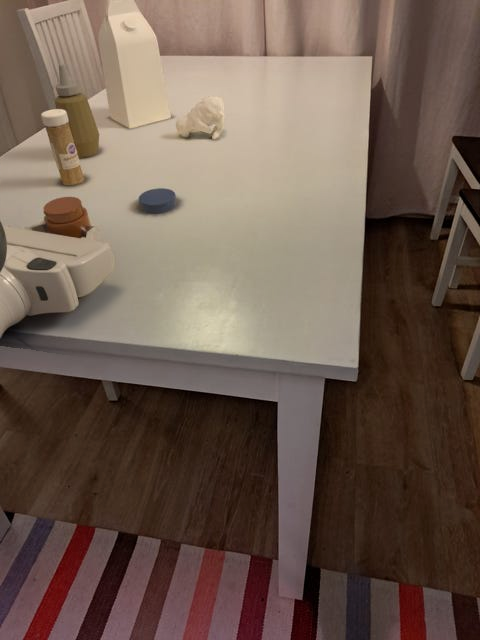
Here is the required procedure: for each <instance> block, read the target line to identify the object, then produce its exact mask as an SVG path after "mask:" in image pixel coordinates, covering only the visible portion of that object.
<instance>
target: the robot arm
mask: <svg viewBox="0 0 480 640" xmlns="http://www.w3.org/2000/svg"><path fill="white" fill-rule="evenodd" d="M1 221H2V220H0V339H1V338H2V336H3V335H4V333H5V331H6V330H7V329H8V328H10V327H12V326H14V325H16V324H17V323H20V322H21V321H22V320H23V319H24V318H26V317H27V316H35V315H36V316H37V315H42V314H50V313H70V312H72V311H74V310H75V309H76V308H77V307H78V306H79V304H80V303H79V299H78V298H81V297H85V296H87V295H88V294H91V293H92V292H94V291H95V290H96V289H97V288H98V287H99V286H100V285H101V284H103V282H104V281H105V280H106V279H107V278H108V277H109V276H110V275H111V274H112V272H113V271H114V270H115V266H116V264H115V257H114V254H113V250H112V247H111V245H110V243H108V242H104V241H98V240H99V239H100V238H101V230H100V228H99V227H98V226H93V225H91V226H87V228H85V229H84V230H83V233H84V235H85V237H82V238H74V237H68V236H62V235H56V234H50V233H48V230H47V227H46V224H45V221H44V219H43V220H42V221H40V222H39V223H35V224H31V225H28V226H25V227H24V228H19V227H14V226H9V225H8V226H7V225H3V223H2V222H1Z"/></svg>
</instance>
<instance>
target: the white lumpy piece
mask: <svg viewBox="0 0 480 640" xmlns="http://www.w3.org/2000/svg"><path fill="white" fill-rule="evenodd" d="M225 106H226V105H225V103H224V101H223V99H222V98H221V97H220V96H217V95H210V96H206V97H204V98H202V99H201V100H200V101H198V102H197V103H196V104H195V106H194V107H193V108H191V110H190V111H189V112H188V113H186V114H185V115H182V116H180V117H178V118H177V119H176V122H175V129H176V131H177V132H178V133H179V134H180V135H181V136H182V137H183V138H187V139H188V138H189V136H190V132H192V131H197V132H203V133H206V134H211V138H212V140H216V139H217V138H218V137H220V136H221V134H222V132H223V129H224V126H225V121H226V120H225V119H226V118H225V111H226V107H225ZM213 125H215V126H214V127H211V126H213Z"/></svg>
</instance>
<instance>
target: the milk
mask: <svg viewBox="0 0 480 640" xmlns="http://www.w3.org/2000/svg"><path fill="white" fill-rule="evenodd" d="M105 3H106V4H105V13H104V14H105V15H104V17H103V21H102V23H101V26H100V29H99V32H98V36H97V40H98V41H97V43H98V48H99V55H100V61H101V66H102V72H103V73H102V74H103V80H104V85H105V92H106V97H107V105H108V110H109V116H110V119H112V120H114V121H115V122H117V123H119V124H121V125H123V126H124V127H126V128H128V129H134V128H137V127H141V126H145V125H149V124H152V123H156V122H160V121H164V120H167V119H172V115H171V109H170V103H169V97H168V91H167V86H166V80H165V75H164V69H163V64H162V59H161V58H162V57H161V52H160V47H159V41H158V38H157V35H156V33H155V31H154V30H153V28H152V26H151V25H150V23H149V22H148V21H147V19H146V18H145V15H143V13H142V12H141V10H140V8H139V7H138V5H137V3H136V0H106V2H105Z"/></svg>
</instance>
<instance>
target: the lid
mask: <svg viewBox="0 0 480 640" xmlns="http://www.w3.org/2000/svg"><path fill="white" fill-rule="evenodd" d="M138 203H139V207H140V210H141V211H143V212H144V213H146V214H153V215H155V214H156V215H157V214H158V215H159V214H165V213H167V212H169V211H172V210H174V209H175V208H176V207H177V203H178V202H177V196H176V192H175V191H174V190H172V189H170V188H163V187H161V188H160V187H157V188H152V189H149V190H146V191H144V192H142V193H140V194H139V197H138Z"/></svg>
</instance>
